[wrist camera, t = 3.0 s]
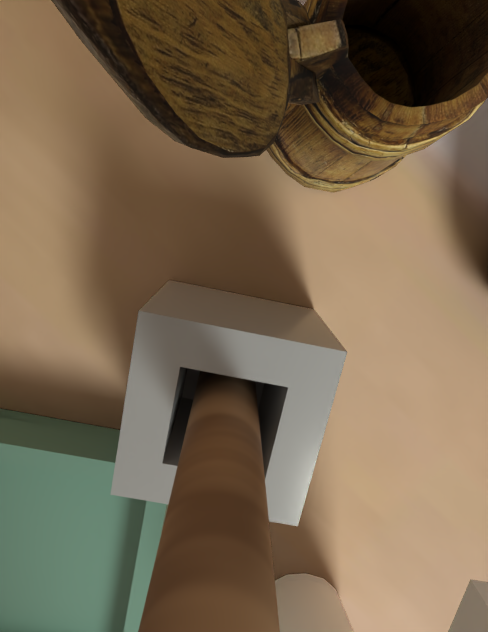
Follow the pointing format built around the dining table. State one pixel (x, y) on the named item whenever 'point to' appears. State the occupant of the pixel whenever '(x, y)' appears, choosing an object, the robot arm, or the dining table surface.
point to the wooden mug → (296, 76)
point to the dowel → (216, 522)
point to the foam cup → (309, 605)
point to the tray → (70, 530)
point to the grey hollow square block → (236, 361)
